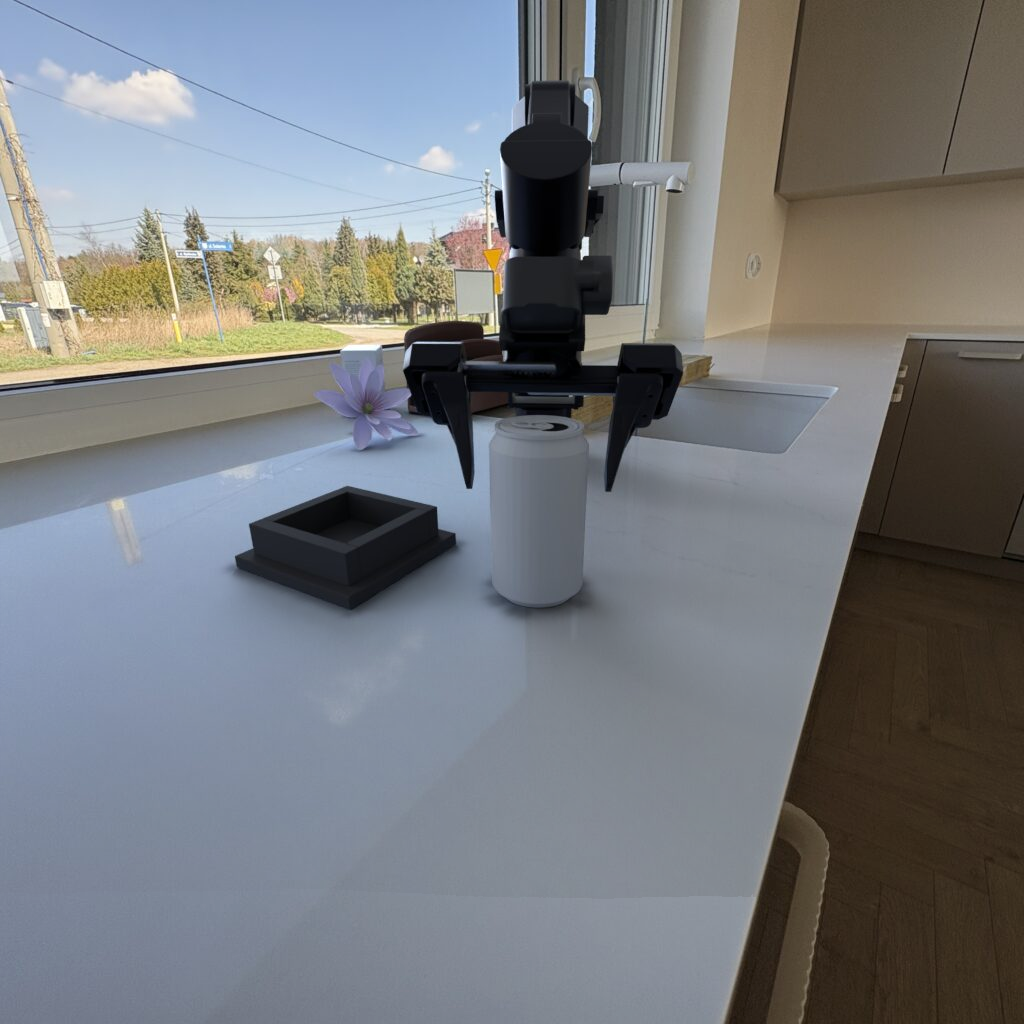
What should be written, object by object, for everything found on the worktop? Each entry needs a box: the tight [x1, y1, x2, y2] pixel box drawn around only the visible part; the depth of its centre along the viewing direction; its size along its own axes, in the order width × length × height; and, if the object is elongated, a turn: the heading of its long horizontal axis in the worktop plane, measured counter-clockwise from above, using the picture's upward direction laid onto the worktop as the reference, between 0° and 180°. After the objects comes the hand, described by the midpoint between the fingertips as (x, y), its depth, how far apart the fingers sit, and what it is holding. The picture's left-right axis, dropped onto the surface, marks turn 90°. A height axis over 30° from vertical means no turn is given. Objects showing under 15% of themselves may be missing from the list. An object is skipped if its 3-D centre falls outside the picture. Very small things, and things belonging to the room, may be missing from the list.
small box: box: [339, 344, 387, 411], centre depth 93 cm, size 8×6×10 cm
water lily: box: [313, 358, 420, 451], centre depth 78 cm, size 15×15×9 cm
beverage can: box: [488, 415, 590, 609], centre depth 38 cm, size 6×6×12 cm
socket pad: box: [234, 485, 457, 610], centre depth 45 cm, size 12×12×4 cm
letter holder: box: [403, 320, 518, 415], centre depth 97 cm, size 10×20×14 cm, turn 144°
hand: (538, 487), depth 37 cm, fingers open, 9 cm apart
